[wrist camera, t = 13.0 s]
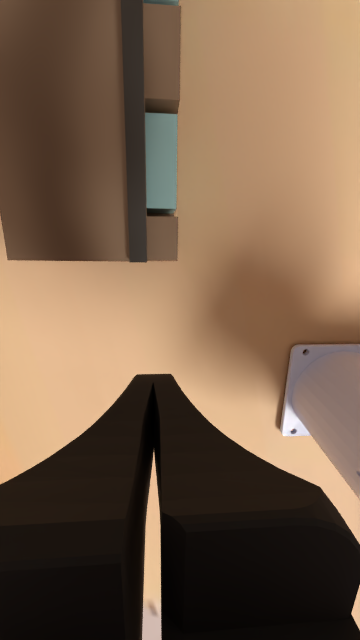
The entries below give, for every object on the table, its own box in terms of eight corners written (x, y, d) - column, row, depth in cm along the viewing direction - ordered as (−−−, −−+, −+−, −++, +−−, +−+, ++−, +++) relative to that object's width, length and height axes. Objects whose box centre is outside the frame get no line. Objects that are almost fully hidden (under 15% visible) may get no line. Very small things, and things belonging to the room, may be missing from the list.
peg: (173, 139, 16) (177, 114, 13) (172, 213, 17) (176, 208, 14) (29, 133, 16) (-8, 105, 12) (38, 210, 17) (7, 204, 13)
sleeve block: (176, -96, 14) (186, -309, 9) (172, 254, 19) (178, 262, 13) (8, -113, 14) (-96, -353, 8) (50, 252, 18) (3, 260, 13)
